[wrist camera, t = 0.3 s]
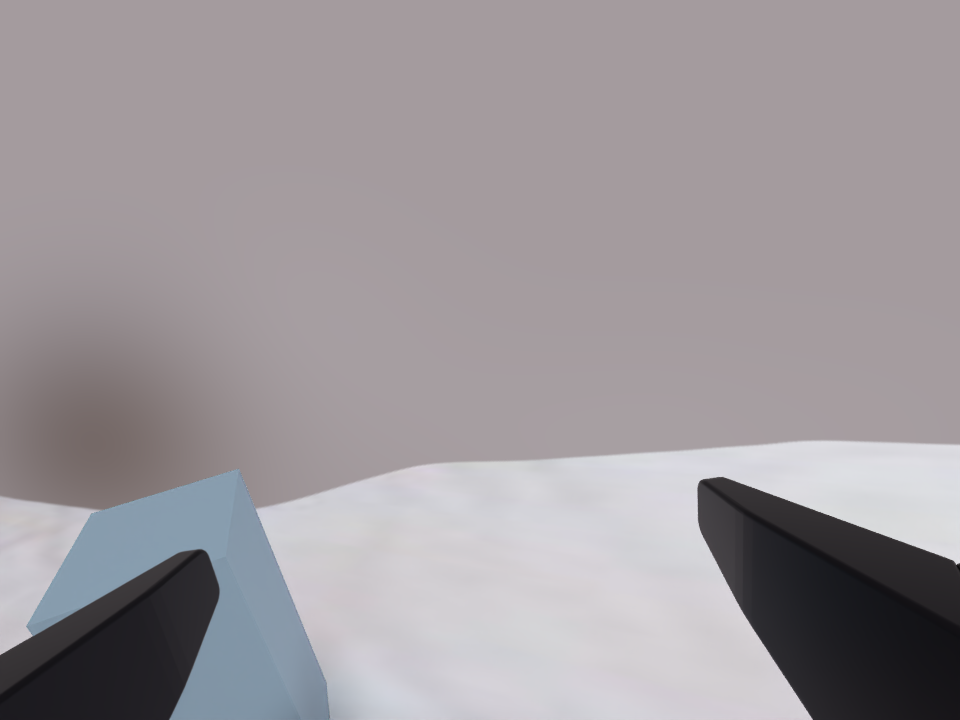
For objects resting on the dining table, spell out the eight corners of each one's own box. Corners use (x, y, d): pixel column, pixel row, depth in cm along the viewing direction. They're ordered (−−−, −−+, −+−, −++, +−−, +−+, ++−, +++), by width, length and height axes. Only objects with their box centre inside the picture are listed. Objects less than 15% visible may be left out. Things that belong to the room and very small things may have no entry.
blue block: (335, 794, 19) (225, 556, 14) (202, 863, 18) (25, 626, 13) (326, 682, 24) (238, 468, 19) (218, 730, 22) (91, 513, 17)
